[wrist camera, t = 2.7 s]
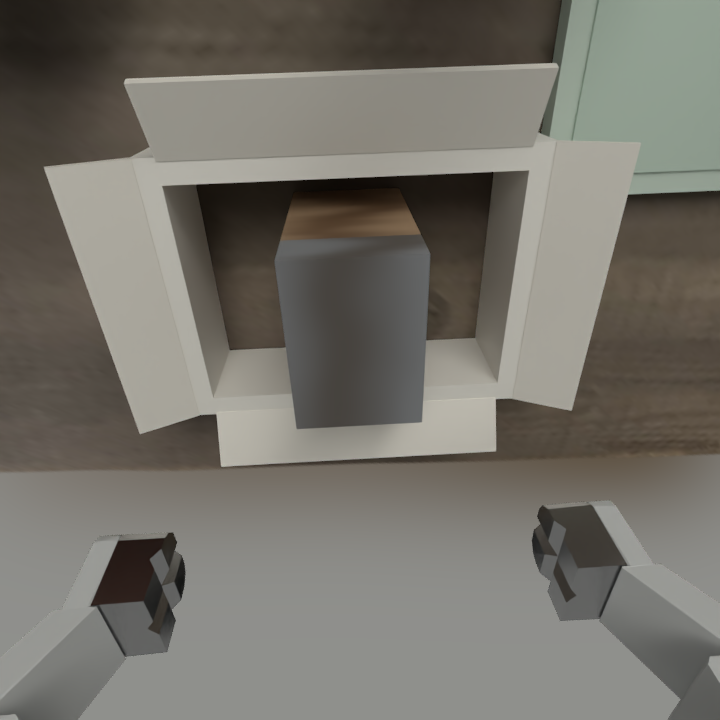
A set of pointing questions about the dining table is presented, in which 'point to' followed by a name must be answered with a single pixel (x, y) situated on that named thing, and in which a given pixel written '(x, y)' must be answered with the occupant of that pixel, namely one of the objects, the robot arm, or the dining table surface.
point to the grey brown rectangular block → (353, 308)
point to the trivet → (642, 86)
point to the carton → (331, 161)
